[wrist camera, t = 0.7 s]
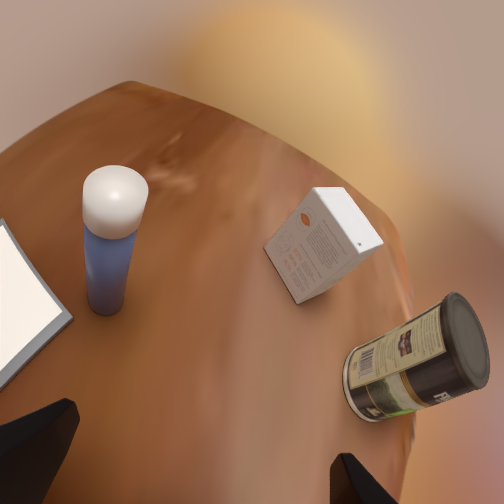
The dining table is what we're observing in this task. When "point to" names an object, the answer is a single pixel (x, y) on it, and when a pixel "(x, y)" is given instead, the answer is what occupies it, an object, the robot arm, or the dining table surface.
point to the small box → (321, 242)
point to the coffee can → (418, 362)
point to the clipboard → (24, 309)
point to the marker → (110, 232)
